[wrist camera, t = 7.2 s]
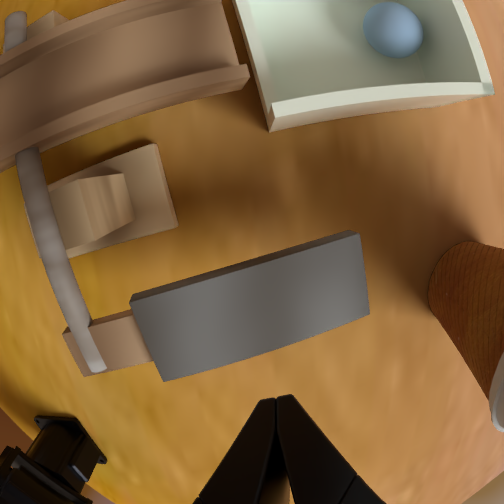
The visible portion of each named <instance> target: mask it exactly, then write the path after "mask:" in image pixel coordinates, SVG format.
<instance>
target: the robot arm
mask: <svg viewBox="0 0 504 504" xmlns="http://www.w3.org/2000/svg"><path fill="white" fill-rule="evenodd" d="M34 421H35V422H36V424H37V425H38V426H39V428H40V429H41V431H40V432H39V434H38V435H37V437H36V438H35V440H34V441H33V443H32V444H31V446H30V447H29V449H28V450H27V452H26V453H23V452H22V451H21V449H20V448H19V447H17V446H16V448H15V449H14V448H11V447H9V446H7V447H6V448H5V449H4V451H3V452H2V454H1V455H0V504H92V503H93V501H92V500H90V499H88V498H85V497H84V496H82V495H81V494H80V493H81V491H82V489H83V486H84V484H85V482H88V481H89V479H90V477H91V474H92V472H93V470H94V468H95V466H96V464H97V463H99V464H106V463H107V458H106V457H105V456H104V455H103V453H102V452H101V451H100V449H99V448H98V447H97V445H96V444H95V443H94V441H93V440H92V439H91V437H90V436H89V435H88V433H87V432H86V430H85V429H84V428H83V426H82V425H81V423H80V422H79V421H78V420H77V419H75V418H62V417H47V416H35V418H34ZM10 466H12V467H13V469H12V468H11V467H10ZM290 487H291V491H292V495H293V499H294V503H295V504H386V503H385V502H384V501H383V500H382V499H381V498H380V497H379V496H378V495H377V494H376V493H375V492H374V491H373V490H372V489H371V488H370V487H369V486H368V485H367V484H366V483H365V481H364V480H363V479H362V478H361V477H360V476H359V475H357V473H356V471H355V470H354V469H353V468H352V467H351V466H350V464H349V463H348V462H347V461H346V460H345V458H344V457H343V456H342V455H341V454H340V452H339V451H338V450H337V449H336V448H335V446H334V445H333V444H332V443H331V442H330V440H329V439H328V438H327V437H326V436H325V434H324V433H323V432H322V431H321V429H320V428H319V427H318V426H317V424H316V423H315V422H314V421H313V420H312V418H311V417H310V416H309V415H308V413H307V412H306V411H305V410H304V408H303V407H302V406H301V404H300V403H299V402H298V401H297V399H296V398H295V397H294V396H293V395H292V394H288V395H283V396H279V397H277V399H276V398H267V399H262V400H260V401H259V402H258V403H257V405H256V407H255V408H254V410H253V412H252V413H251V415H250V417H249V418H248V420H247V422H246V423H245V425H244V427H243V428H242V430H241V431H240V433H239V435H238V436H237V438H236V439H235V441H234V443H233V444H232V446H231V447H230V449H229V450H228V452H227V454H226V455H225V457H224V458H223V460H222V461H221V463H220V464H219V466H218V467H217V469H216V470H215V472H214V473H213V475H212V476H211V478H210V479H209V481H208V482H207V484H206V485H205V487H204V488H203V489H202V491H201V492H200V494H199V497H200V498H199V497H197V498H196V499H195V501H194V502H193V504H289V498H290Z"/></svg>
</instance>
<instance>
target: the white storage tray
mask: <svg viewBox="0 0 504 504" xmlns="http://www.w3.org/2000/svg"><path fill="white" fill-rule="evenodd" d="M382 2H395V3H399V4H401V5H404V6H406V7H407V8H409V9H410V10H411V11H412V12H413V13H414V14H415V15H416V16H417V17H418V19H419V20H420V22H421V24H422V27H423V42H422V44H421V46H420V48H419V49H418V50H417V51H416V52H415V53H414V54H412V55H410V56H408V57H405V58H391V57H387V56H385V55H383V54H381V53H379V52H378V51H376V50H375V49H374V48H373V47H372V46H371V45H370V44H369V43H368V41H367V39H366V37H365V35H364V32H363V20H364V17H365V14H366V13H367V11H368V10H369V9H370V8H371V7H373V6H374V5H376V4H379V3H382ZM232 3H233V6H234V9H235V12H236V16H237V19H238V22H239V25H240V29H241V32H242V36H243V39H244V42H245V46H246V49H247V53H248V56H249V60H250V63H251V67H252V70H253V74H254V77H255V81H256V85H257V88H258V92H259V96H260V99H261V103H262V107H263V111H264V114H265V118H266V122H267V126H268V130H269V132H274V131H278V130H283V129H287V128H292V127H297V126H302V125H307V124H313V123H318V122H323V121H329V120H335V119H341V118H347V117H354V116H360V115H367V114H375V113H382V112H390V111H399V110H409V109H419V108H430V107H440V106H444V105H448V104H452V103H457V102H461V101H466V100H470V99H475V98H480V97H485V96H490V95H495V92H494V88H493V85H492V81H491V77H490V74H489V70H488V67H487V64H486V61H485V58H484V54H483V51H482V49H481V46H480V43H479V40H478V37H477V35H476V32H475V29H474V27H473V24H472V22H471V19H470V17H469V15H468V12H467V10H466V8H465V5H464V3H463V1H462V0H232Z"/></svg>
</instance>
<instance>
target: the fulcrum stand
mask: <svg viewBox="0 0 504 504" xmlns="http://www.w3.org/2000/svg"><path fill="white" fill-rule="evenodd" d="M67 21H70V20H68V19H67V18H65V17H63V16H62V15H60V14H59V13H57V12H56V11H54V10H53V11H51V12H50V13H48V14H46V15H45V16H43V17H42V18H40V19H38V20H37V21H35V22H34V23H32V24H31V25H29V26H28V27H27V40H29V39H31V38H33V37H35V36H37V35H39V34H41V33H43V32H45V31H47V30H49V29H51V28H54V27H56V26H58V25H60V24H63V23H65V22H67ZM4 44H5V43H4ZM4 44H3V53H5V50H4ZM47 188H48V192H49V196H50V200H51V204H52V207H53V211H54V214H55V218H56V221H57V225H58V228H59V231H60V235H61V238H62V241H63V244H64V247H65V250H66V253H67V256H68V258H72V257H75V256H78V255H82V254H85V253H88V252H92V251H95V250H98V249H102V248H105V247H109V246H112V245H115V244H119V243H122V242H126V241H129V240H133V239H136V238H140V237H144V236H147V235H151V234H155V233H158V232H162V231H166V230H169V229H173V228H176V227H177V226H178V225H179V224H178V221H177V217H176V214H175V210H174V207H173V203H172V199H171V196H170V192H169V188H168V185H167V181H166V177H165V174H164V170H163V166H162V162H161V158H160V154H159V150H158V146H157V144H153V143H152V144H150V145H147V146H144V147H141V148H138V149H135V150H132V151H130V152H127V153H124V154H122V155H119V156H116V157H114V158H111V159H108V160H106V161H103V162H101V163H98V164H96V165H93V166H91V167H89V168H86V169H84V170H81V171H79V172H77V173H74V174H72V175H70V176H68V177H65V178H63V179H61V180H59V181H56V182H54V183H52V184H50V185H48V186H47ZM24 208H25V212H26V215H27V219H28V222H29V226H30V229H31V233H32V236H33V239H34V242H35V245H36V249H37V252H38V255H39V258H41V256H40V253H39V250H38V246H37V243H36V240H35V237H34V234H33V230H32V227H31V224H30V220H29V216H28V213H27V209H26V205H25V204H24Z"/></svg>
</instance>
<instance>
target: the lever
mask: <svg viewBox="0 0 504 504" xmlns="http://www.w3.org/2000/svg"><path fill="white" fill-rule="evenodd" d="M221 2H222V0H126V1H123V2H120V3H116V4H113V5H110V6H107V7H104V8H101V9H98V10H96V11H93V12H90V13H87V14H85V15H82V16H80V17H77V18H75V19H72V20H70V21H67V22H65V23H63V24H60V25H58V26H56V27H54V28H51V29H49V30H47V31H45V32H43V33H41V34H39V35H37V36H35V37H33V38H31V39H29V40H27V14H26V13H25V12H23V11H18V12H14V13H12V14H10V15H9V16H8V17H7V18H6V19H5V44H4V50H5V53H3V54H2V55H0V173H1V172H3V171H5V170H7V169H8V168H10V167H12V166H14V165H16V166H17V171H18V176H19V180H20V185H21V189H22V193H23V197H24V201H25V205H26V209H27V213H28V216H29V220H30V224H31V227H32V230H33V234H34V237H35V240H36V243H37V246H38V250H39V253H40V256H41V258H42V261H43V264H44V267H45V270H46V273H47V275H48V278H49V281H50V283H51V286H52V288H53V291H54V293H55V296H56V298H57V301H58V303H59V306H60V308H61V310H62V313H63V315H64V317H65V320H66V322H67V324H68V326H69V327H67V328H66V329H65V331H64V332H63V333H62V335H63V338H64V340H65V342H66V344H67V346H68V348H69V350H70V352H71V354H72V356H73V358H74V360H75V362H76V363H77V365H78V367H79V369H80V371H81V373H82V375H83V376H84V377H86V376H91V375H95V374H100V373H105V372H109V371H113V370H118V369H122V368H126V367H131V366H135V365H139V364H143V363H147V362H151V361H154V363H155V365H156V367H157V369H158V371H159V373H160V376H161V378H162V380H163V382H166V381H170V380H174V379H177V378H181V377H185V376H189V375H193V374H196V373H200V372H204V371H207V370H211V369H214V368H218V367H221V366H225V365H228V364H231V363H235V362H238V361H241V360H245V359H248V358H251V357H254V356H257V355H260V354H263V353H266V352H270V351H273V350H276V349H278V348H281V347H284V346H287V345H290V344H293V343H296V342H299V341H302V340H304V339H307V338H310V337H313V336H315V335H318V334H321V333H323V332H326V331H329V330H331V329H334V328H336V327H339V326H342V325H344V324H347V323H349V322H352V321H354V320H357V319H359V318H362V317H364V316H366V315H369V314H370V310H369V300H368V291H367V283H366V275H365V267H364V260H363V253H362V246H361V239H360V233H357V232H354V231H351V230H347V231H344V232H340V233H337V234H334V235H330V236H327V237H324V238H320V239H317V240H314V241H310V242H307V243H304V244H301V245H297V246H294V247H291V248H287V249H284V250H281V251H277V252H274V253H271V254H267V255H264V256H261V257H257V258H254V259H250V260H247V261H244V262H240V263H237V264H234V265H230V266H227V267H224V268H220V269H217V270H213V271H210V272H207V273H203V274H200V275H197V276H193V277H190V278H186V279H183V280H180V281H176V282H173V283H169V284H166V285H163V286H159V287H156V288H152V289H149V290H145V291H142V292H139V293H135V294H133V295H132V297H131V299H130V302H129V304H130V306H131V309H130V310H127V311H123V312H120V313H116V314H112V315H109V316H105V317H102V318H98V319H94V320H92V318H91V316H90V313H89V311H88V309H87V306H86V304H85V301H84V299H83V296H82V294H81V291H80V289H79V286H78V284H77V281H76V278H75V276H74V273H73V270H72V267H71V265H70V262H69V259H68V256H67V253H66V250H65V247H64V244H63V241H62V238H61V235H60V231H59V228H58V225H57V221H56V218H55V214H54V211H53V207H52V204H51V200H50V196H49V192H48V188H47V184H46V180H45V175H44V171H43V166H42V162H41V157H40V153H41V152H44V151H46V150H48V149H50V148H53V147H55V146H57V145H60V144H62V143H64V142H67V141H69V140H72V139H74V138H77V137H79V136H82V135H84V134H87V133H89V132H92V131H95V130H97V129H100V128H103V127H106V126H108V125H111V124H114V123H117V122H120V121H123V120H126V119H129V118H132V117H135V116H138V115H142V114H145V113H148V112H151V111H155V110H158V109H162V108H165V107H169V106H173V105H176V104H180V103H184V102H188V101H192V100H196V99H200V98H204V97H209V96H213V95H218V94H223V93H227V92H232V91H237V90H242V88H243V87H244V85H245V84H246V82H247V81H248V79H249V78H250V74H249V71H248V67H247V64H243V65H239V62H238V58H237V55H236V51H235V48H234V44H233V41H232V37H231V34H230V30H229V27H228V23H227V20H226V16H225V13H224V10H223V6H222V3H221Z"/></svg>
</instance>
